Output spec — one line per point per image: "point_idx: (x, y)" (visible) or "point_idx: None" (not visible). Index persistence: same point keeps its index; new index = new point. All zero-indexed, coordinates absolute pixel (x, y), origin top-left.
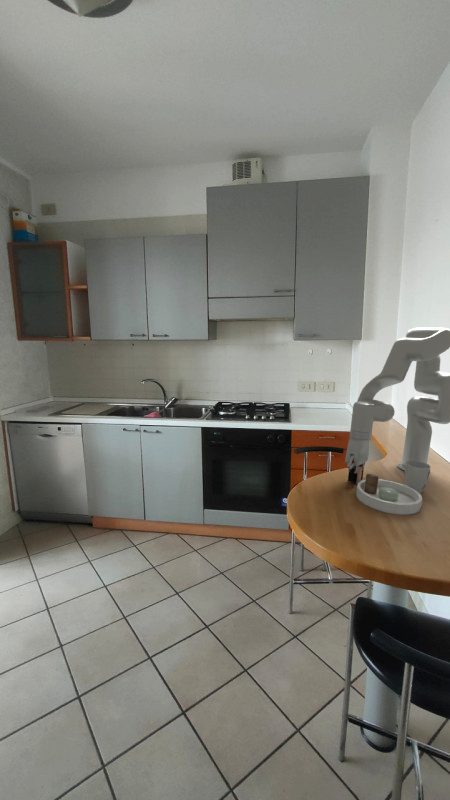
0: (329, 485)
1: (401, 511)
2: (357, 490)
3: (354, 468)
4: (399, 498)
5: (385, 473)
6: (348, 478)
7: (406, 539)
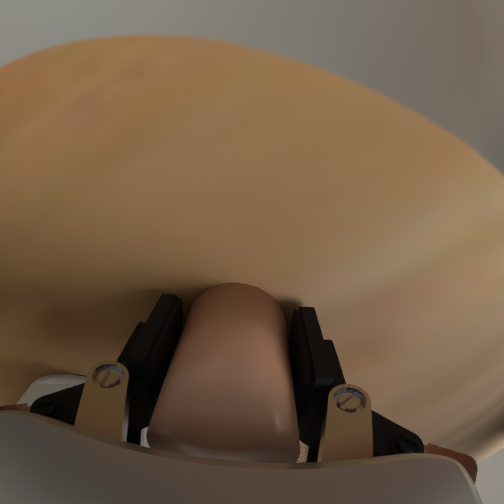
0: (5, 208)
1: None
2: (20, 400)
3: (148, 436)
4: None
5: (498, 374)
6: (157, 308)
7: None
